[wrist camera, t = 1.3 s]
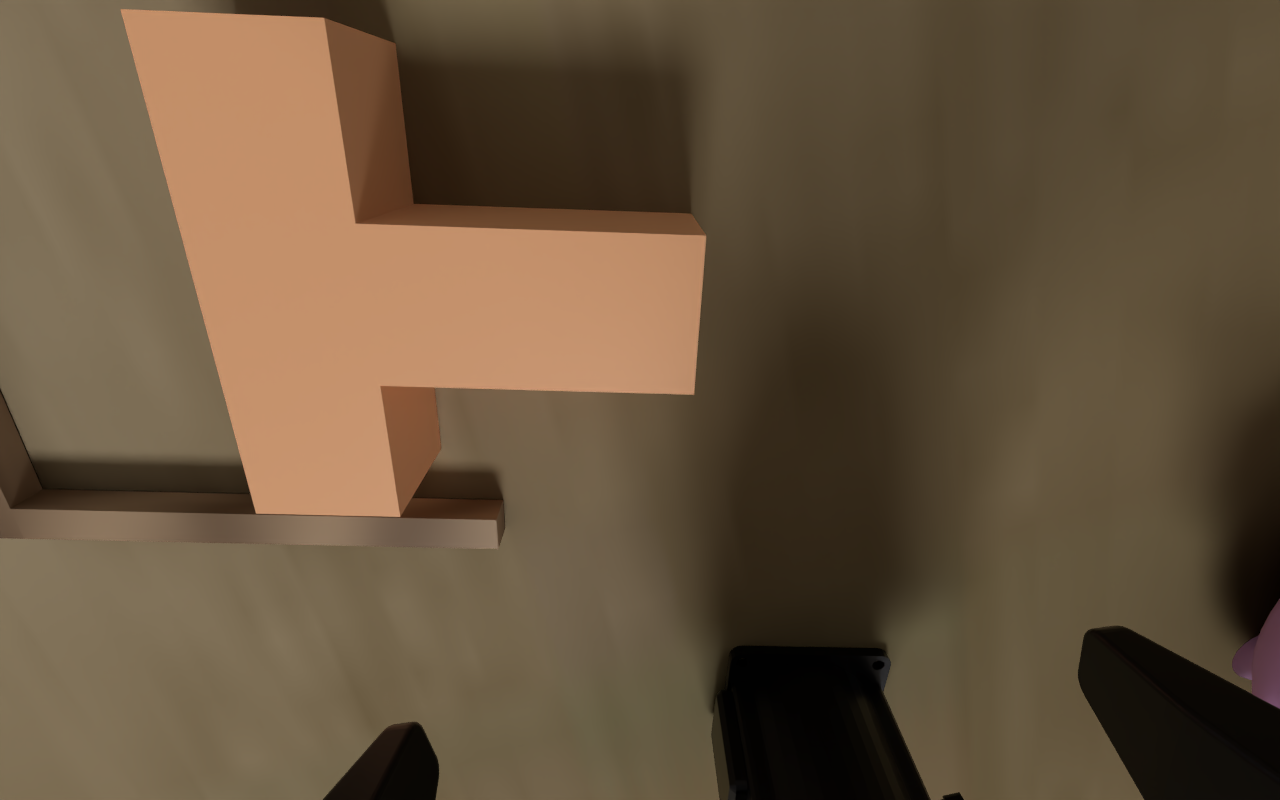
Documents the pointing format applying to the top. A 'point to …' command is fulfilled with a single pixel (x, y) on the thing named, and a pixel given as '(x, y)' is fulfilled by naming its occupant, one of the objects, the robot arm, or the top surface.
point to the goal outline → (220, 515)
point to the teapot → (1262, 660)
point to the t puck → (379, 264)
